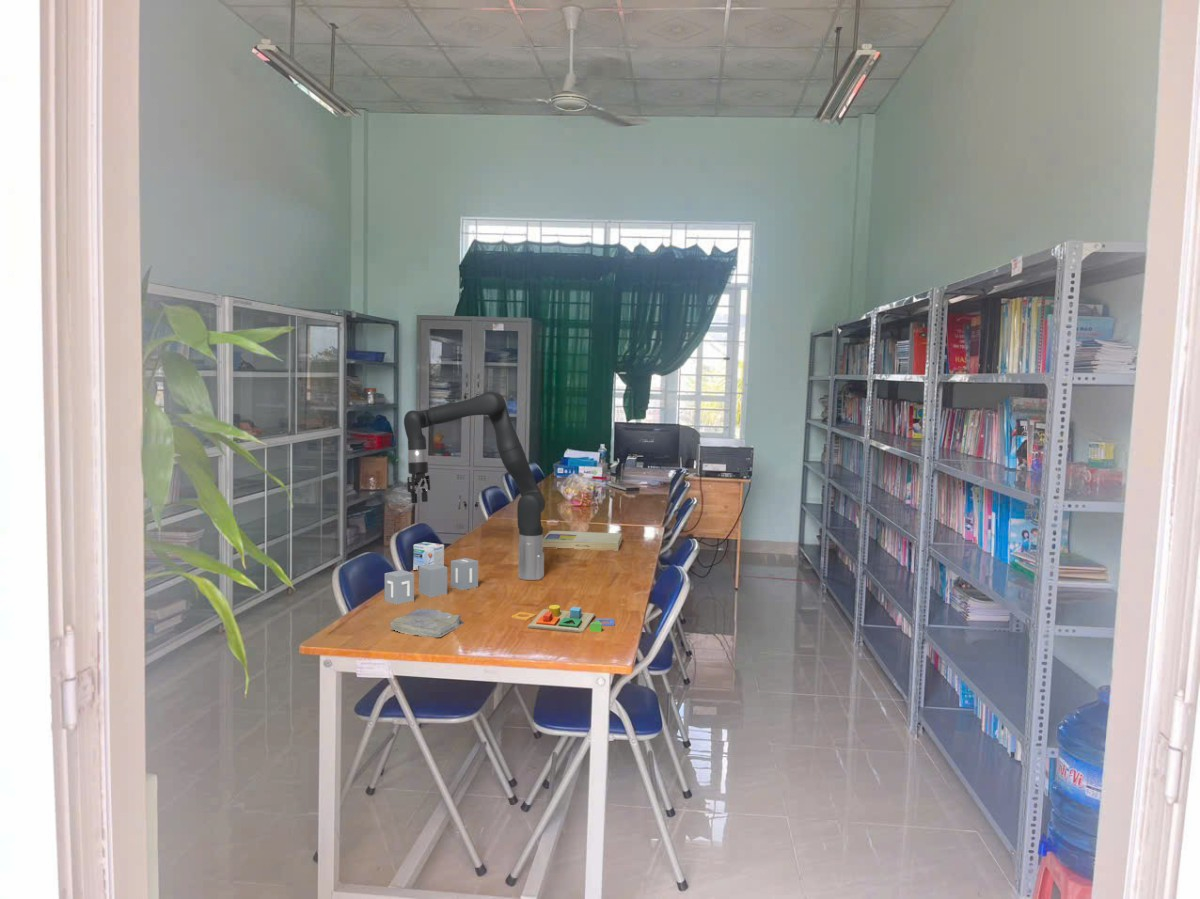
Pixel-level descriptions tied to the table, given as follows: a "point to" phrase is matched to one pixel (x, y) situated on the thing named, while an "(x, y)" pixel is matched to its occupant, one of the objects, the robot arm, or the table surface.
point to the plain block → (433, 580)
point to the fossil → (427, 623)
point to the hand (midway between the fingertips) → (419, 502)
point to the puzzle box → (583, 540)
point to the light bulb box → (427, 554)
